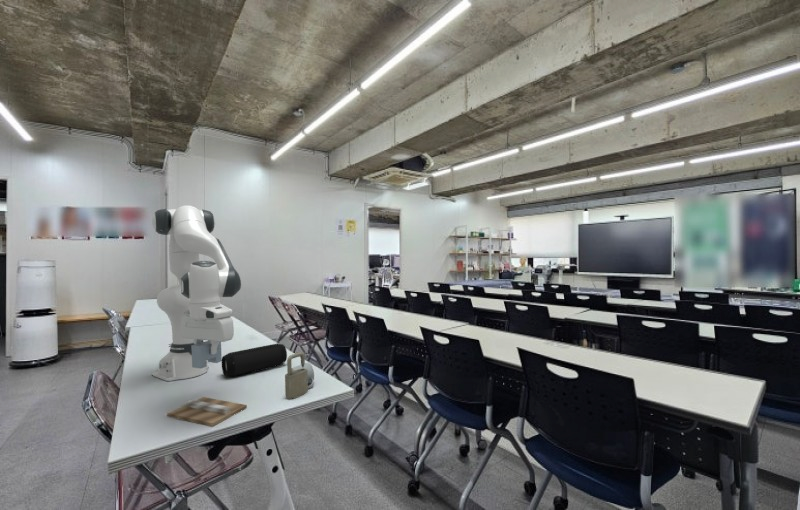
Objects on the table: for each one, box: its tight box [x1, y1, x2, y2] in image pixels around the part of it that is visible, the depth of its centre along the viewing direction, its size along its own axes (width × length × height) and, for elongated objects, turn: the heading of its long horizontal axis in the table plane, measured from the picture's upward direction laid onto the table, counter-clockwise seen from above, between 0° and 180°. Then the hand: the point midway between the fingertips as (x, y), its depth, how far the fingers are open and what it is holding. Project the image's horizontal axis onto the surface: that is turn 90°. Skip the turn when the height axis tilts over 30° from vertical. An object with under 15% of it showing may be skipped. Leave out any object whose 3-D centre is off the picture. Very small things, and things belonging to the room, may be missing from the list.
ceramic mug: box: [292, 362, 315, 390], centre depth 134 cm, size 11×8×8 cm
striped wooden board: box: [166, 396, 248, 428], centre depth 113 cm, size 20×13×2 cm, turn 68°
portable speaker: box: [221, 343, 288, 378], centre depth 153 cm, size 26×10×10 cm, turn 132°
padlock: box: [284, 351, 309, 400], centre depth 125 cm, size 4×8×15 cm, turn 146°
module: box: [191, 340, 223, 368], centre depth 113 cm, size 4×8×7 cm, turn 158°
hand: (206, 353), depth 113 cm, fingers closed on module, 4 cm apart
